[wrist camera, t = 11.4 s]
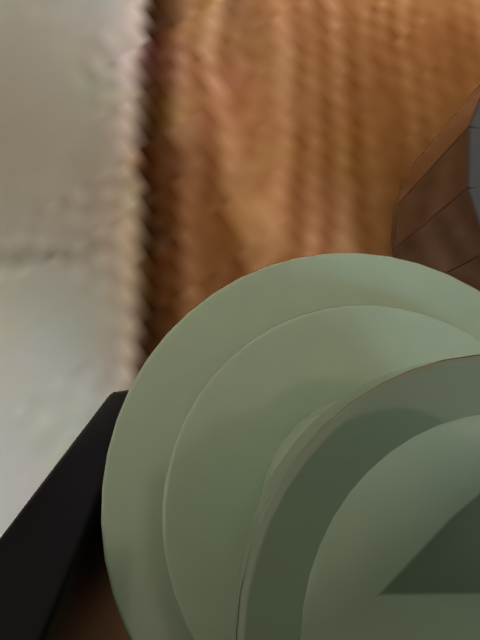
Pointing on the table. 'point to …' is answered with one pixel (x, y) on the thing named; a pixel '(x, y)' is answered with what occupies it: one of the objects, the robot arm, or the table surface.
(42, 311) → the table surface
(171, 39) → the table surface
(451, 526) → the bottle
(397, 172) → the table surface
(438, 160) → the cup
